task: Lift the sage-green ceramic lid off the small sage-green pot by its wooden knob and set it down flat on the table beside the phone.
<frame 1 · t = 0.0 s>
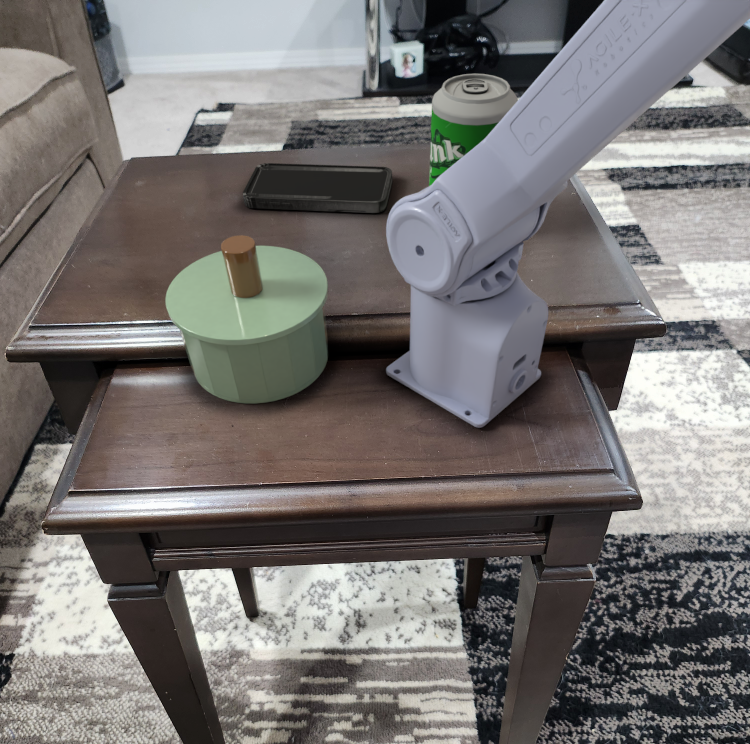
soda can: (465, 220, 67), on the table
phone: (319, 194, 71), on the table
pot lid: (248, 294, 50), point 6 cm above the table, touching pot
pot: (260, 357, 54), on the table
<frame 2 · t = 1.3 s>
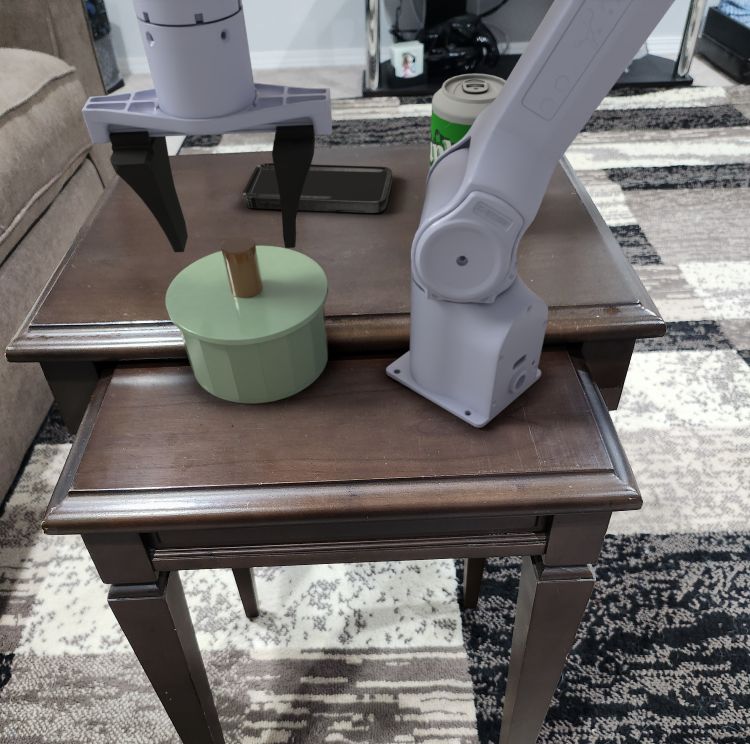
hand: (235, 242, 47), 10 cm above the table, tool pointing down, fingers open, 7 cm apart
nothing on the table moved.
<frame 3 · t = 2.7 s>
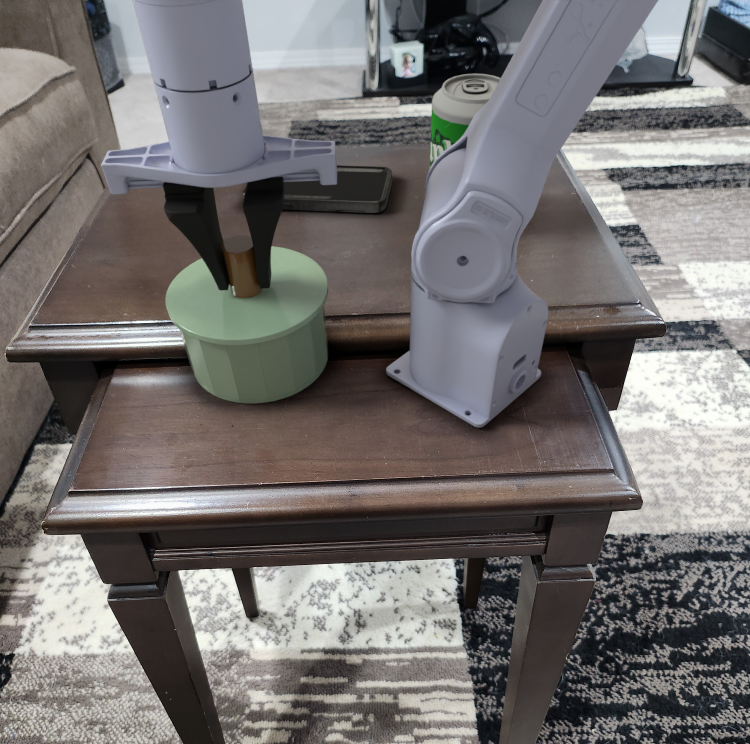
hand: (245, 281, 49), 7 cm above the table, tool pointing down, fingers closed on pot lid, 2 cm apart
pot lid: (248, 294, 50), point 6 cm above the table, touching gripper, pot
everything else where it was.
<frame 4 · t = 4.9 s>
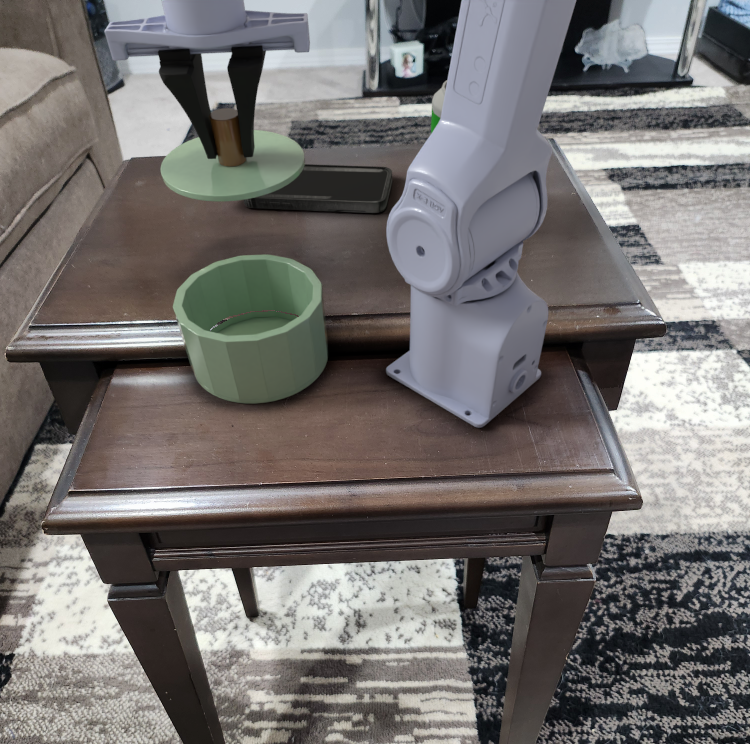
hand: (231, 152, 55), 10 cm above the table, tool pointing down, fingers closed on pot lid, 2 cm apart
pot lid: (233, 166, 56), point 9 cm above the table, touching gripper
everything else where it was.
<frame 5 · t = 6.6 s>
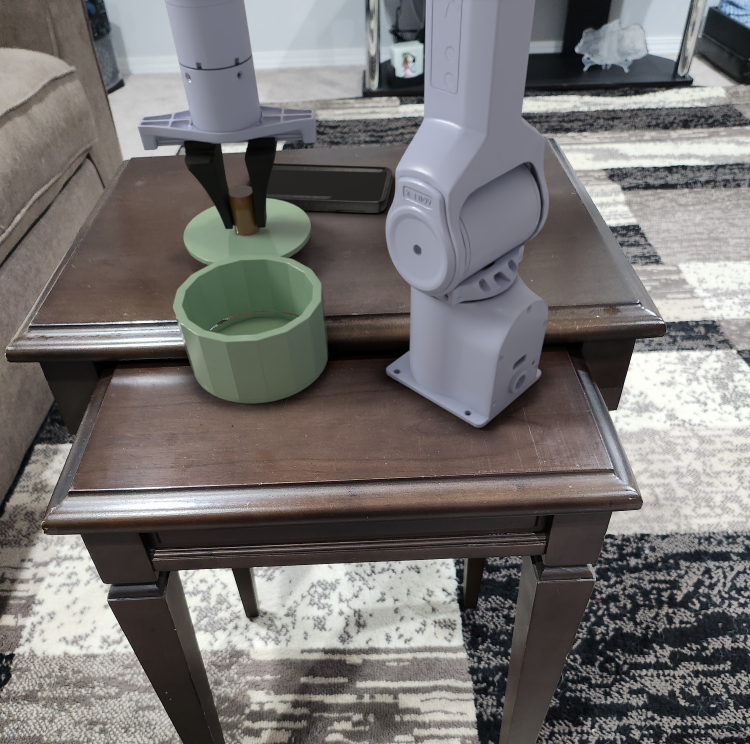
hand: (246, 223, 62), 3 cm above the table, tool pointing down, fingers closed on pot lid, 2 cm apart
pot lid: (248, 234, 63), point 2 cm above the table, touching gripper
everything else where it was.
when the fingers open (2 cm above the table, at t = 7.3 s): pot lid stays where it is, point 1 cm above the table.
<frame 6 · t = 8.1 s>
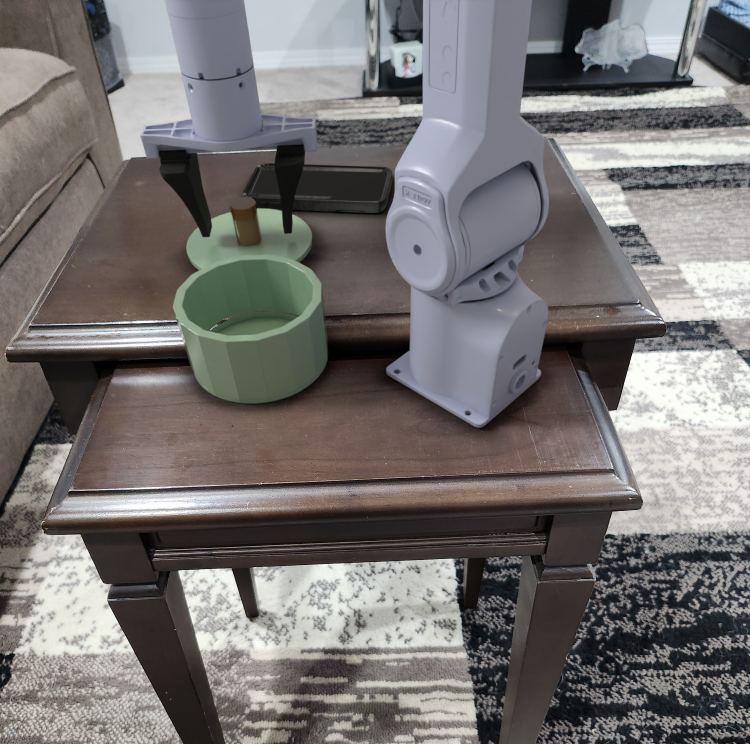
hand: (247, 230, 63), 2 cm above the table, tool pointing down, fingers open, 7 cm apart
pot lid: (250, 244, 64), point 1 cm above the table
everything else where it was.
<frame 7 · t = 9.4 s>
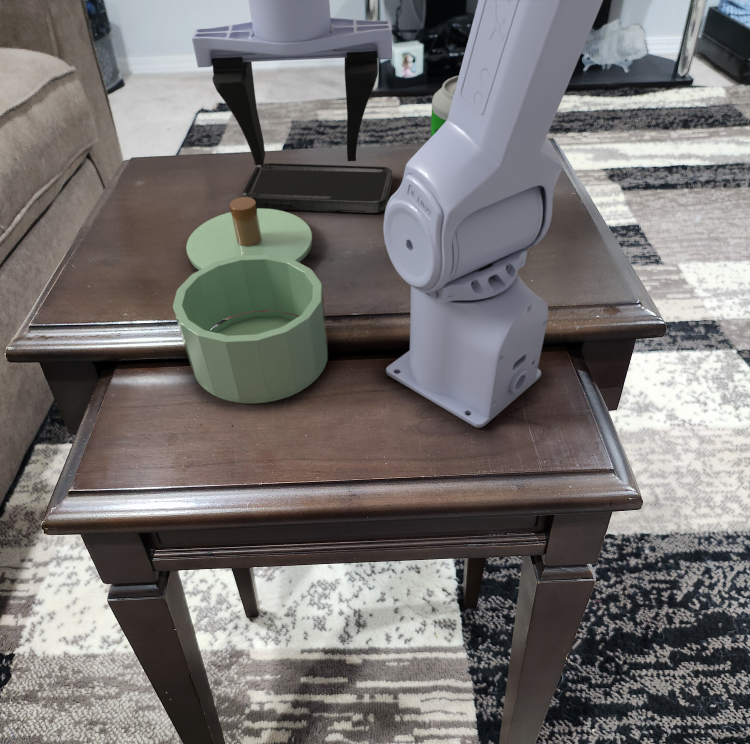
hand: (305, 157, 56), 9 cm above the table, tool pointing down, fingers open, 7 cm apart
nothing on the table moved.
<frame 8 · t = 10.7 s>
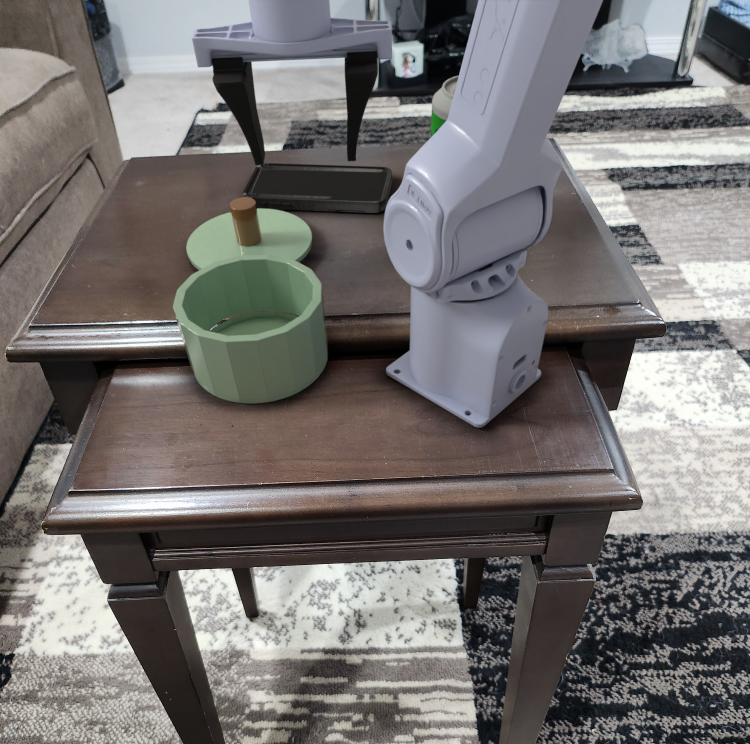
hand: (305, 157, 56), 9 cm above the table, tool pointing down, fingers open, 7 cm apart
nothing on the table moved.
at the end: pot lid inside the target area (0.0 cm from its centre), point 0.6 cm above the table; pot lid 12.4 cm from the phone (horizontally); pot lid tilted 0° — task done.
